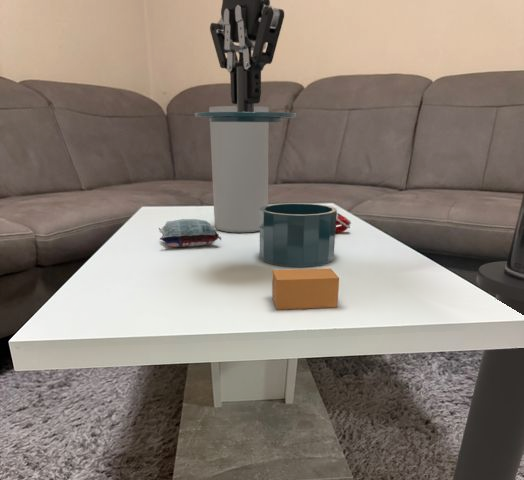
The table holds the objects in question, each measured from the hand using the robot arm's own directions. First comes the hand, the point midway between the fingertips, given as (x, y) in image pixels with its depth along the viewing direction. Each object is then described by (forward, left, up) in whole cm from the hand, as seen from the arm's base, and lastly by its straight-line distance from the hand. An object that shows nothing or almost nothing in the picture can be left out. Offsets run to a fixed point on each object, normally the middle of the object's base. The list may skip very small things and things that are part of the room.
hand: (245, 103), depth 63 cm
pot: (-13, -3, -24) cm, 28 cm away
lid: (0, 0, -2) cm, 2 cm away
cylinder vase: (-21, -31, -24) cm, 44 cm away
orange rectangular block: (+2, +16, -24) cm, 29 cm away
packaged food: (-3, -24, -24) cm, 34 cm away
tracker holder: (-31, -14, -24) cm, 42 cm away
